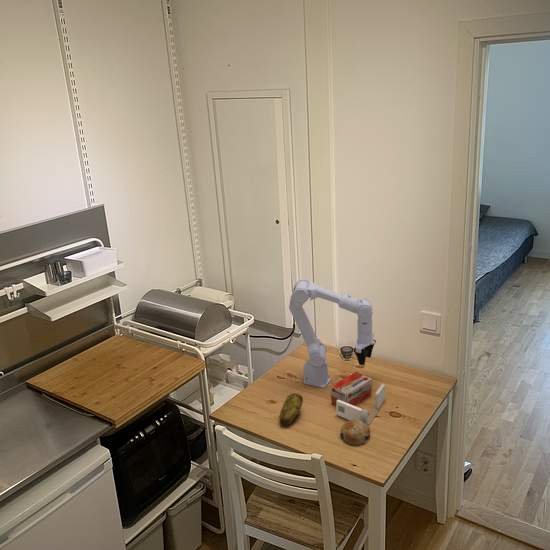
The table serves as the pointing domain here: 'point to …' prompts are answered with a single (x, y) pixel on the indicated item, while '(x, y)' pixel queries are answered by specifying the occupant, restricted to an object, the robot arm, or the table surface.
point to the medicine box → (352, 389)
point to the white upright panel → (378, 401)
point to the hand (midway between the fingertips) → (364, 360)
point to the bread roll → (355, 432)
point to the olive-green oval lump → (290, 408)
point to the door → (348, 411)
